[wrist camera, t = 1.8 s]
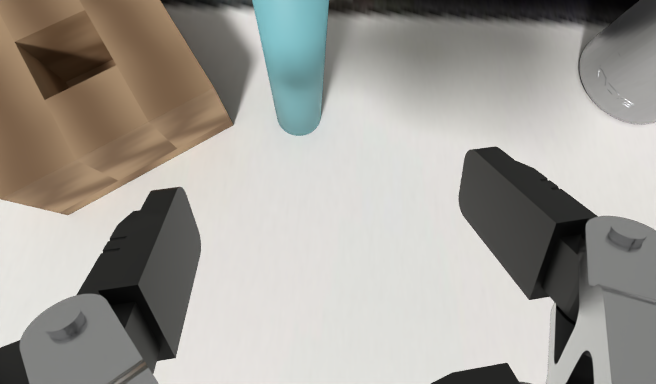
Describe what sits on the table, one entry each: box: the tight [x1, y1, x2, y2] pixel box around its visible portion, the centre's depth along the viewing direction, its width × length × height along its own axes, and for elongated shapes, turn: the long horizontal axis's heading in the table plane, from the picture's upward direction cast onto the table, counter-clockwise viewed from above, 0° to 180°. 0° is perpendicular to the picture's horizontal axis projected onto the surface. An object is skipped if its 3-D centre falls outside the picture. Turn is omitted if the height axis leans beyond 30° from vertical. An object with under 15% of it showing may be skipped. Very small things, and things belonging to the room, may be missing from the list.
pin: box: [253, 0, 329, 136], centre depth 22 cm, size 4×4×15 cm
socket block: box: [0, 0, 233, 215], centre depth 26 cm, size 14×14×6 cm
